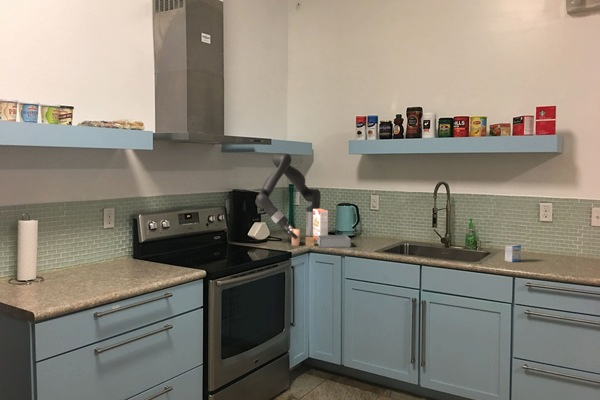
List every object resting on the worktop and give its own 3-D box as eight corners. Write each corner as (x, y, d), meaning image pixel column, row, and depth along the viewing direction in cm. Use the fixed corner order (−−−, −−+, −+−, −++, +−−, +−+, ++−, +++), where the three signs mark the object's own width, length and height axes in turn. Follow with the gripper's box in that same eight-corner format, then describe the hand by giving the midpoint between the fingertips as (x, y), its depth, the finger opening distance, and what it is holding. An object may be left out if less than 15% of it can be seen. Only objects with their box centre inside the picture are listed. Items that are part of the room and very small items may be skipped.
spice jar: (291, 244, 321) (291, 228, 320) (299, 244, 322) (299, 228, 321) (291, 245, 316) (291, 229, 315) (299, 245, 317) (299, 229, 316)
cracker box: (312, 239, 344) (312, 208, 342) (320, 238, 346) (320, 208, 344) (319, 242, 330) (319, 210, 329) (328, 241, 332) (328, 210, 331)
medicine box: (511, 262, 268) (512, 246, 267) (504, 261, 272) (505, 245, 271) (521, 260, 272) (521, 245, 272) (513, 259, 276) (514, 243, 275)
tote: (316, 243, 327) (317, 235, 326) (346, 242, 328) (346, 235, 328) (320, 247, 309) (320, 239, 309) (350, 247, 311) (351, 239, 311)
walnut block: (305, 244, 321) (305, 236, 320) (313, 244, 321) (313, 236, 321) (306, 246, 316) (306, 238, 316) (314, 246, 316) (314, 238, 316)
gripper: (282, 216, 311) (300, 235, 311) (285, 213, 325) (302, 231, 325) (273, 224, 312) (292, 243, 312) (277, 221, 326) (294, 239, 326)
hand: (297, 237), depth 318 cm, fingers open, 8 cm apart
